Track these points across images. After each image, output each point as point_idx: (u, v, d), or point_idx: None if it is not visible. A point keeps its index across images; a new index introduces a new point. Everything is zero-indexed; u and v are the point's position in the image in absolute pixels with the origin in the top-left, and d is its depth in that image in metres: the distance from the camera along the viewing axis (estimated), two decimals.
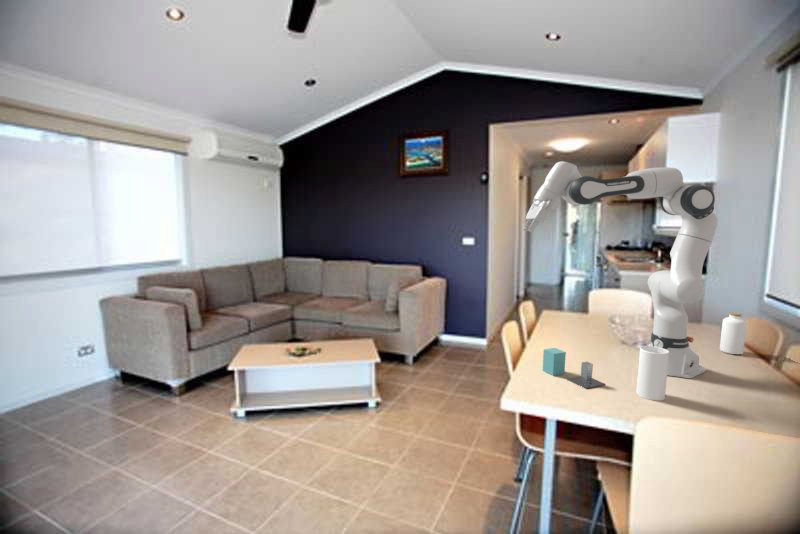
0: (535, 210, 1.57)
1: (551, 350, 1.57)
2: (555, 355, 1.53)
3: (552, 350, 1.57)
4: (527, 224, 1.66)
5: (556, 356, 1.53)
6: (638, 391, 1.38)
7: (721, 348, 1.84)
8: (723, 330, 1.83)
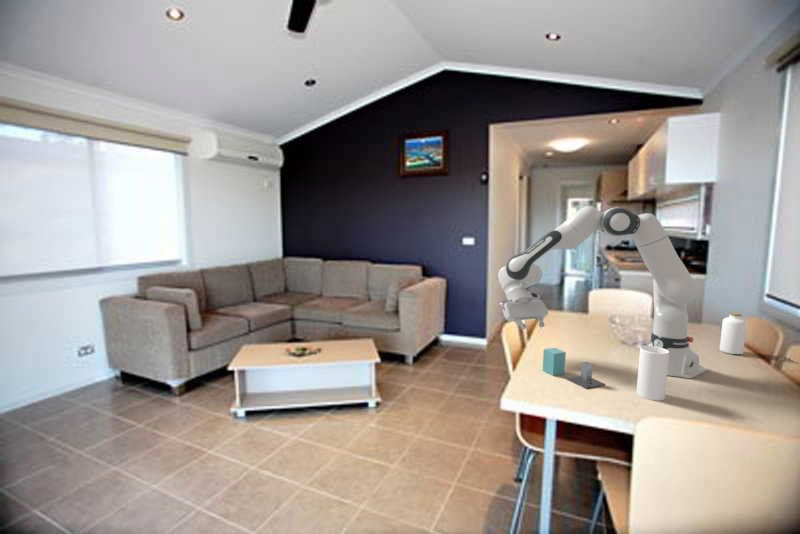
0: None
1: (551, 350, 1.57)
2: (555, 355, 1.53)
3: (552, 350, 1.57)
4: (540, 321, 1.71)
5: (556, 356, 1.53)
6: (638, 391, 1.38)
7: (721, 348, 1.84)
8: (723, 330, 1.83)
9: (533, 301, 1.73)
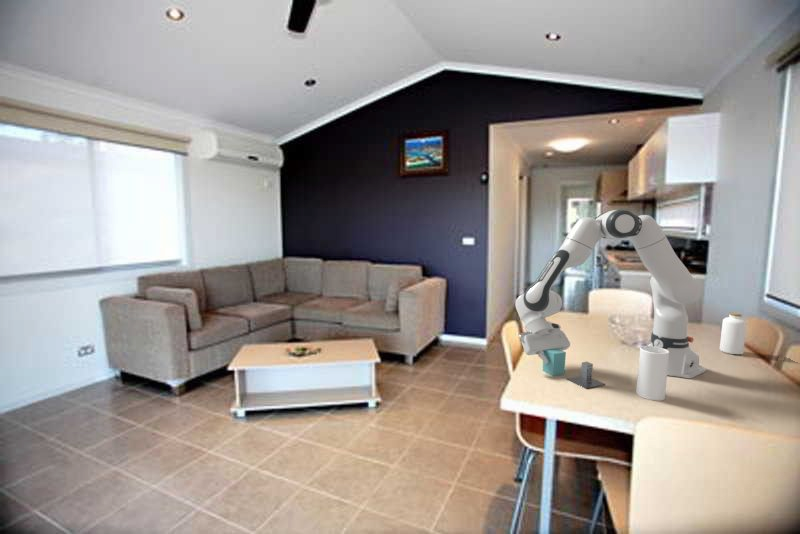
0: None
1: (551, 350, 1.57)
2: (555, 355, 1.53)
3: (552, 350, 1.57)
4: None
5: (556, 356, 1.53)
6: (638, 391, 1.38)
7: (721, 348, 1.84)
8: (723, 330, 1.83)
9: (554, 332, 1.62)
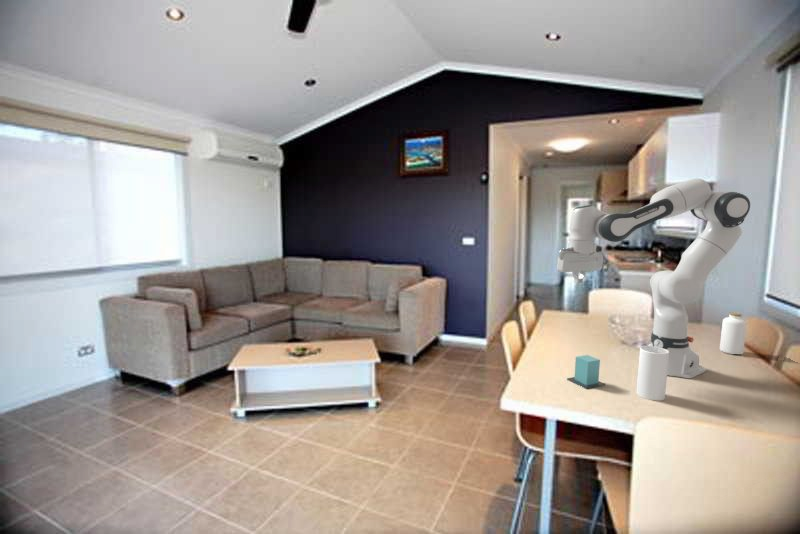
0: None
1: (584, 358, 1.47)
2: (589, 363, 1.44)
3: (585, 358, 1.47)
4: (580, 275, 1.60)
5: (590, 364, 1.44)
6: (638, 391, 1.38)
7: (721, 348, 1.84)
8: (723, 330, 1.83)
9: (594, 255, 1.58)
